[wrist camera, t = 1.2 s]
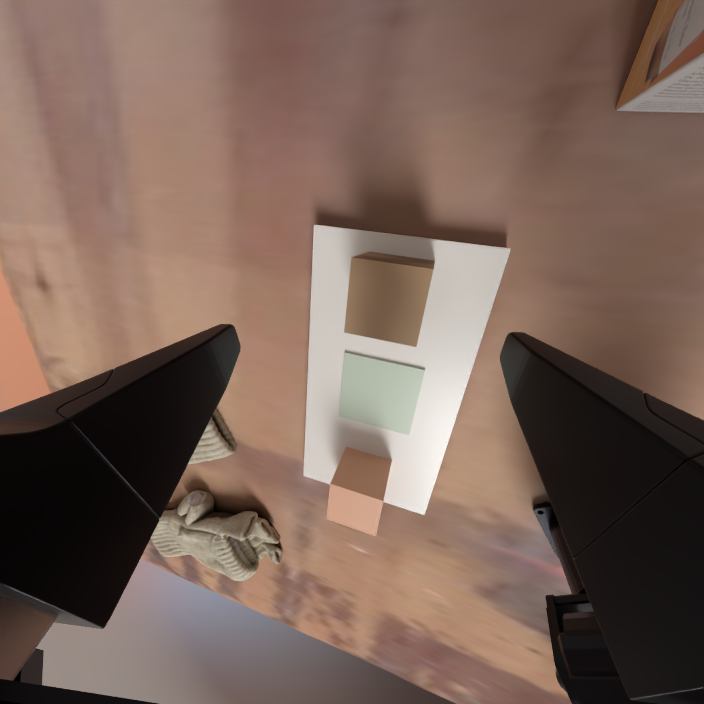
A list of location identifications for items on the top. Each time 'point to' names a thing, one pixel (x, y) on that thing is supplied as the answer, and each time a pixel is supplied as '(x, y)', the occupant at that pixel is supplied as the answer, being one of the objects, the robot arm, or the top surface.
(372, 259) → the walnut block
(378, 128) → the top surface
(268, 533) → the pair of gloves
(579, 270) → the top surface
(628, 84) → the small box
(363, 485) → the terracotta block
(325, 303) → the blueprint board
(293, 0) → the top surface
